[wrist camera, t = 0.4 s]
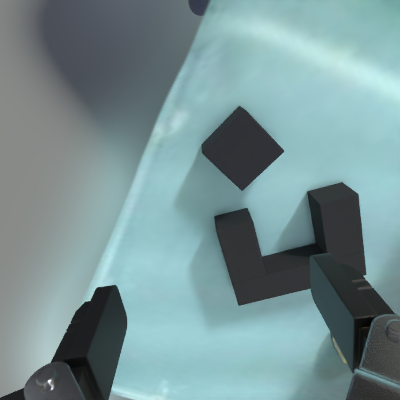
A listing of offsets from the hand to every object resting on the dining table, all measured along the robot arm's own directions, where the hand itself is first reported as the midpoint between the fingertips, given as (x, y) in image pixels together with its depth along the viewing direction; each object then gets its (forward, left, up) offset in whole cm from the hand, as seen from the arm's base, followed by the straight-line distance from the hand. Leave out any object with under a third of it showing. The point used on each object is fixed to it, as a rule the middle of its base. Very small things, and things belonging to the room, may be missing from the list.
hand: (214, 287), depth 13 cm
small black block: (0, +4, -25) cm, 25 cm away
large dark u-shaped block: (+14, +7, -25) cm, 29 cm away
